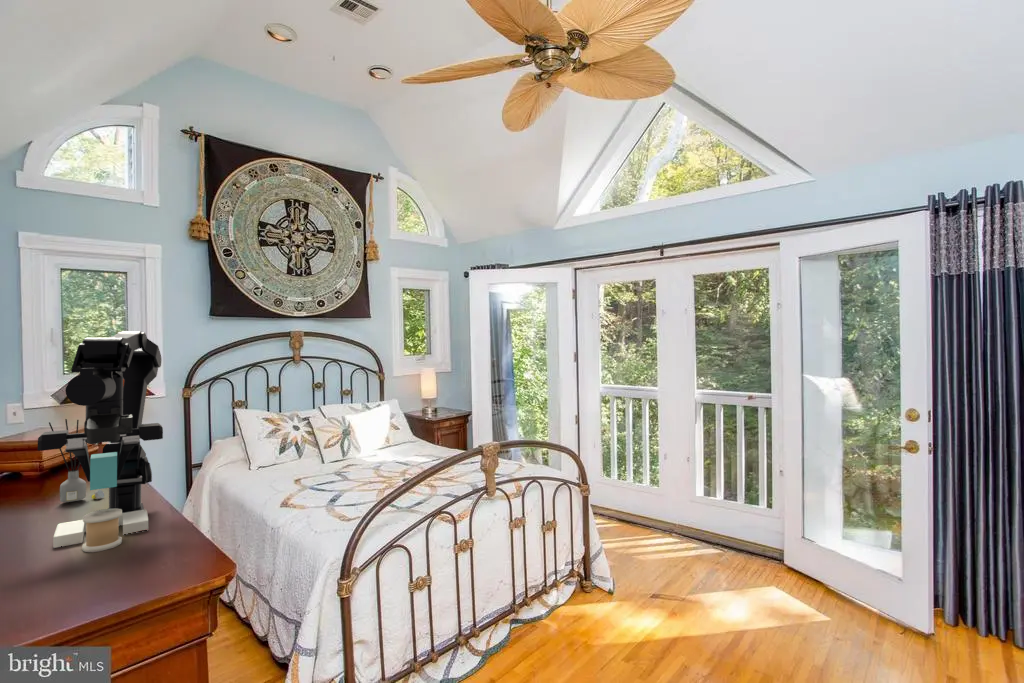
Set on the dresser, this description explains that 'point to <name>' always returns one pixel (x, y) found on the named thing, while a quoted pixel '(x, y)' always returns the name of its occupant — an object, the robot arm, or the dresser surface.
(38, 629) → the dresser surface
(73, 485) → the reed diffuser
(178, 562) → the dresser surface
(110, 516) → the bobbin
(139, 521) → the notched board
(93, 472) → the teal rectangular block
